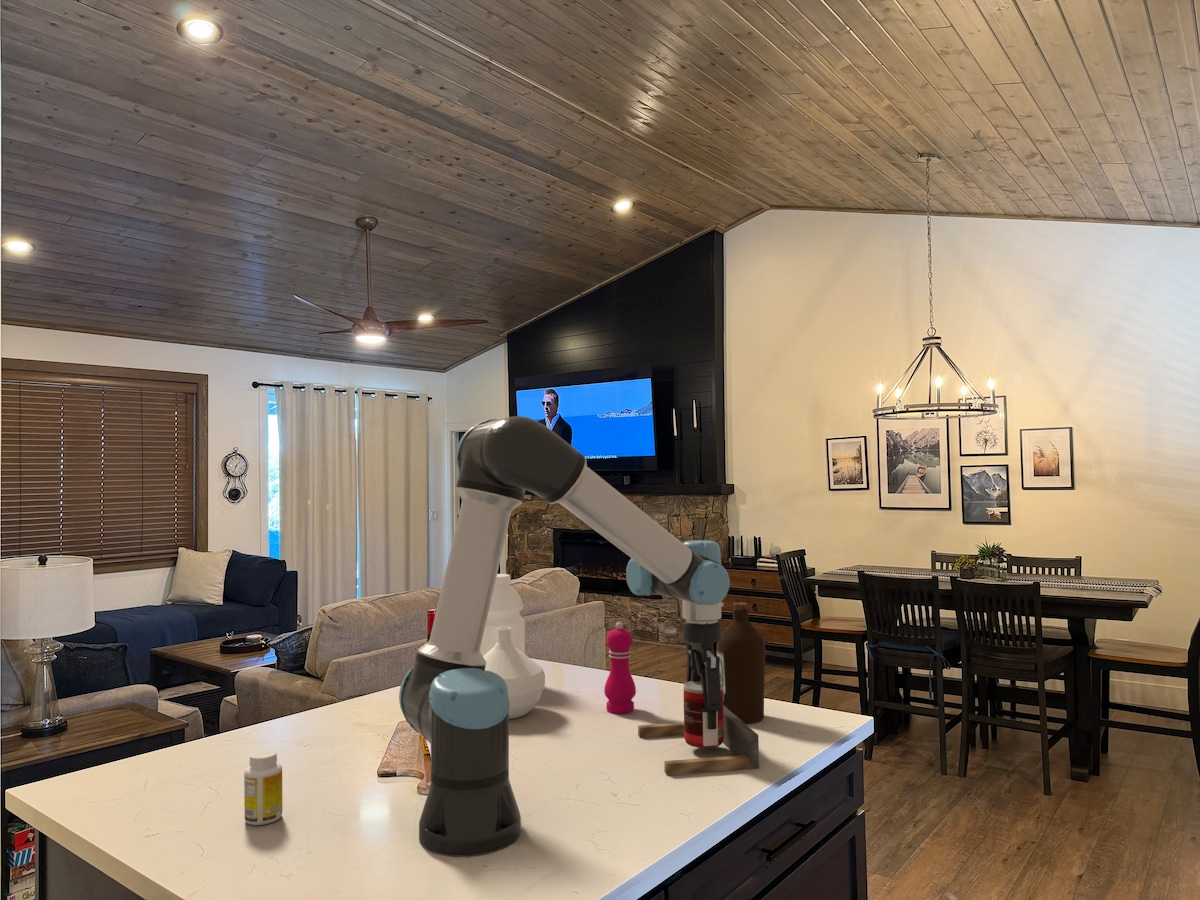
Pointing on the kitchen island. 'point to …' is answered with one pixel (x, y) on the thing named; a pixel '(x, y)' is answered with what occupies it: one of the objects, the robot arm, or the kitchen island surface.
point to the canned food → (698, 715)
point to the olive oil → (742, 667)
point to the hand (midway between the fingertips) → (703, 737)
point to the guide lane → (735, 739)
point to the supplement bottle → (263, 788)
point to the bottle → (504, 615)
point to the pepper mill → (619, 672)
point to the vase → (516, 674)
